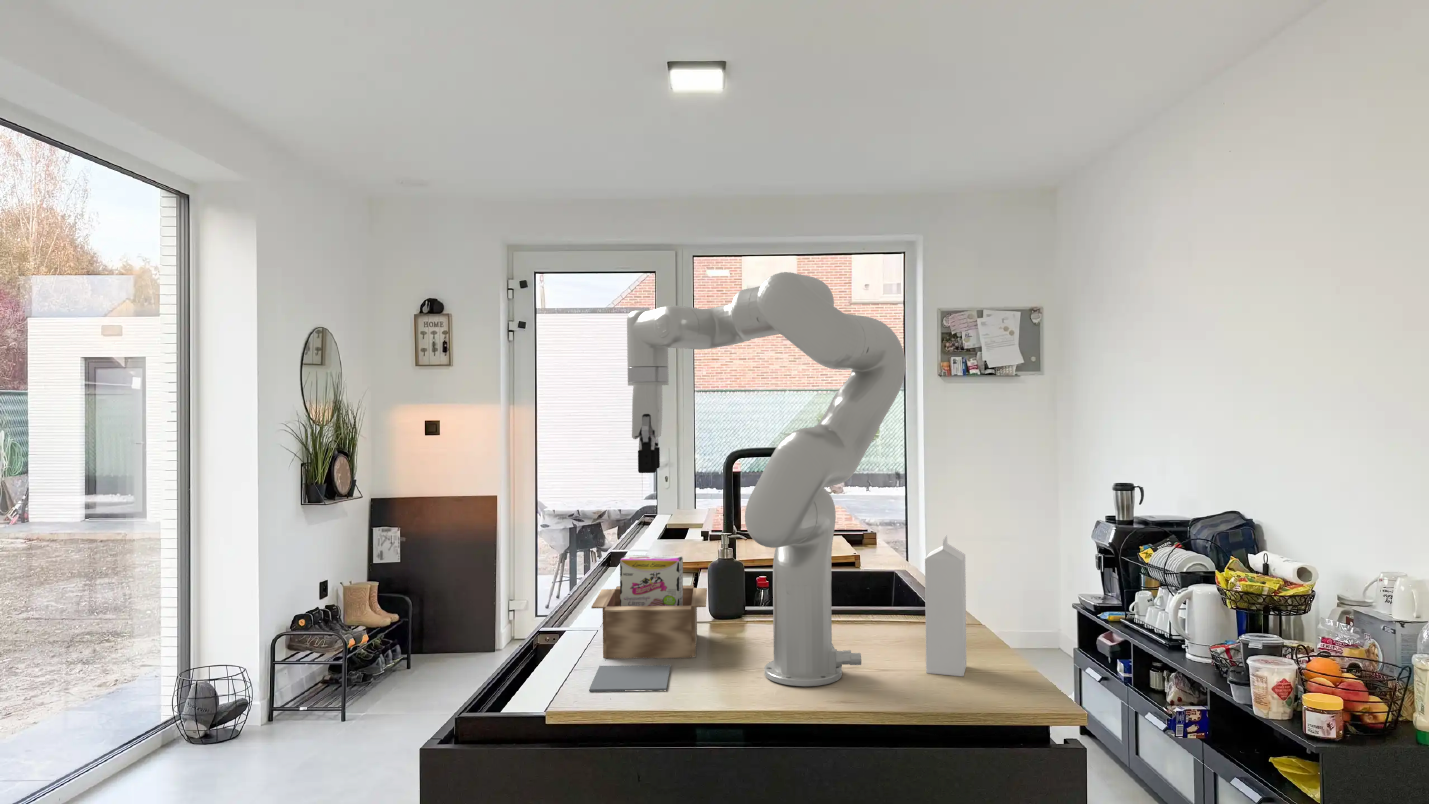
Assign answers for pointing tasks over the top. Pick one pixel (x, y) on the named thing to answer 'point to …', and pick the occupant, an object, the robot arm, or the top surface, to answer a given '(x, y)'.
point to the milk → (945, 611)
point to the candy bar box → (651, 580)
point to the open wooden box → (650, 626)
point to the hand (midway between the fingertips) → (649, 470)
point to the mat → (630, 678)
